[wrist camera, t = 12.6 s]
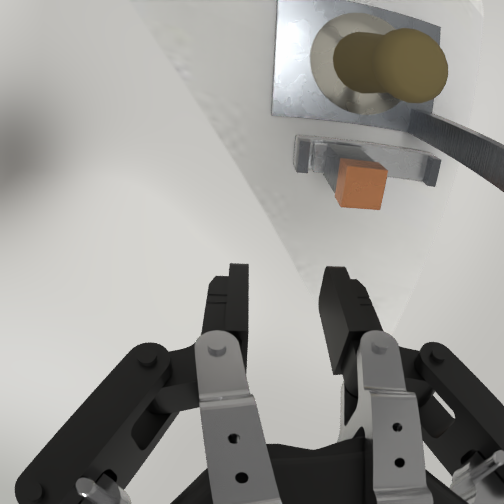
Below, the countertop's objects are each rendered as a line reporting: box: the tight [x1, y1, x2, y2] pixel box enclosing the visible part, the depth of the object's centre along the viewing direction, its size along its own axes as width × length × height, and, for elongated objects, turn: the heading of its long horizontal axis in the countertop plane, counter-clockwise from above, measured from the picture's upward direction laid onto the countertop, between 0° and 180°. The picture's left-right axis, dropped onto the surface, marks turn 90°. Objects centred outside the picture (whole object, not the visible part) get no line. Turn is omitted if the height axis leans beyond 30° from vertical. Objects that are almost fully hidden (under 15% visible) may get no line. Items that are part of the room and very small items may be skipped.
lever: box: [311, 142, 388, 210], centre depth 26 cm, size 5×3×8 cm, turn 88°
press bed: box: [271, 0, 504, 192], centre depth 18 cm, size 16×12×18 cm
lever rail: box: [293, 135, 441, 187], centre depth 30 cm, size 15×3×3 cm, turn 88°
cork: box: [333, 28, 448, 103], centre depth 19 cm, size 6×6×11 cm
